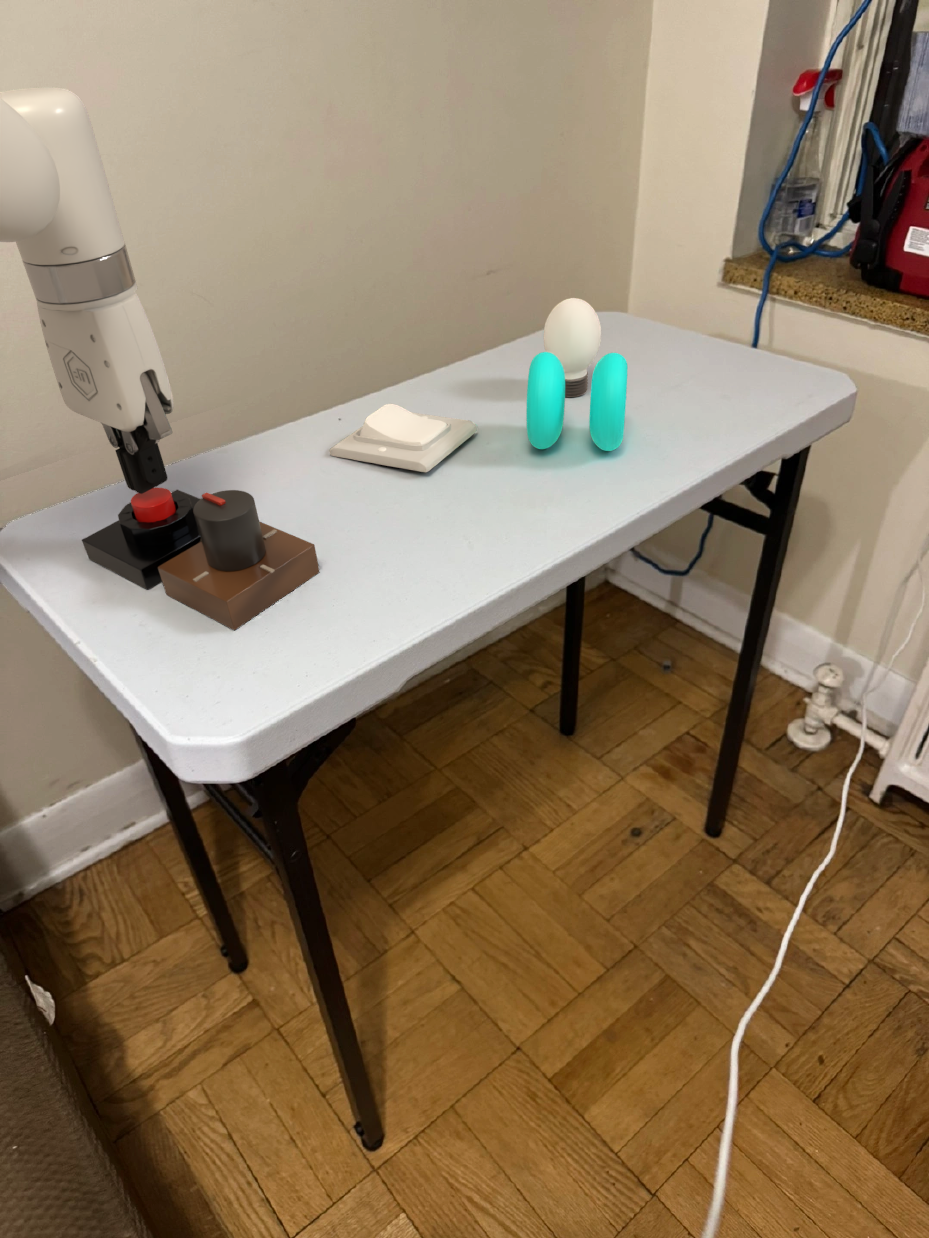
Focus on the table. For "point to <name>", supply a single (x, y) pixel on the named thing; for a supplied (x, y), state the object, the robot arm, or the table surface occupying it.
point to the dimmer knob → (229, 530)
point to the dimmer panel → (240, 578)
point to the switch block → (144, 541)
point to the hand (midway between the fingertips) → (148, 484)
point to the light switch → (404, 439)
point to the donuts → (550, 401)
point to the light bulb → (573, 341)
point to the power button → (153, 505)
